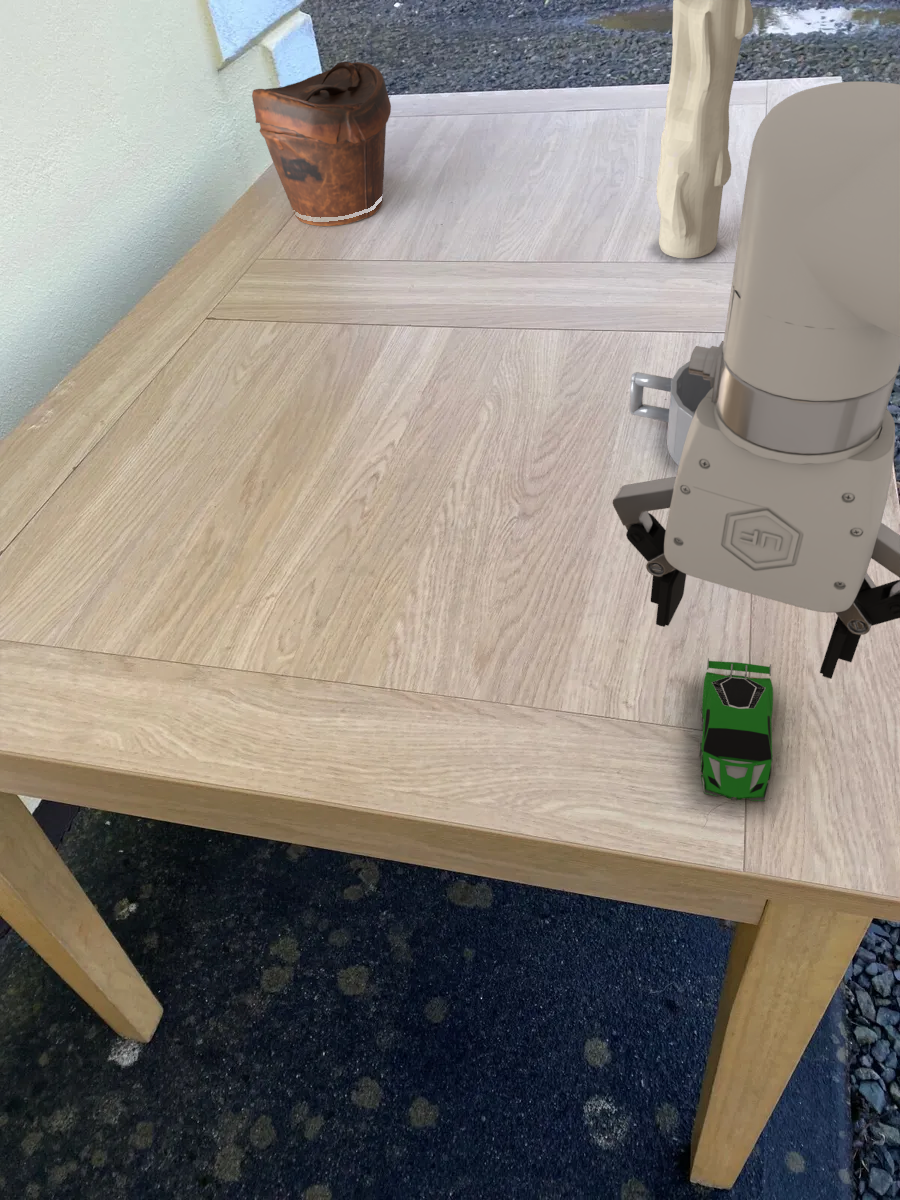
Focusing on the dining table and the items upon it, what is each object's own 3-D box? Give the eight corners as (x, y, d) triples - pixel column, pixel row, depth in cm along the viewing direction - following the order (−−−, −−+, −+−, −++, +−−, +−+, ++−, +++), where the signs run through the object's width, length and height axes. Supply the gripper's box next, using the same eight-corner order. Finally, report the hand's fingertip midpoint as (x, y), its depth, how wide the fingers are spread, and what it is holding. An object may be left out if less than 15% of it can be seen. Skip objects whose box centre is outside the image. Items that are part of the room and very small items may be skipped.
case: (412, 176, 137) (394, 41, 124) (392, 234, 123) (369, 89, 110) (298, 184, 139) (269, 52, 127) (265, 242, 126) (229, 101, 113)
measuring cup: (829, 418, 85) (842, 361, 80) (793, 502, 77) (805, 444, 73) (652, 385, 92) (655, 331, 87) (603, 459, 84) (605, 404, 80)
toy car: (772, 806, 58) (778, 787, 56) (695, 796, 59) (698, 777, 57) (770, 684, 64) (775, 663, 63) (701, 677, 65) (704, 656, 64)
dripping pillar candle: (736, 251, 109) (773, -49, 88) (677, 272, 107) (700, -30, 86) (693, 227, 115) (718, -60, 94) (636, 246, 113) (648, -43, 92)
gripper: (595, 395, 43) (588, 633, 56) (997, 482, 37) (888, 731, 49) (649, 319, 48) (632, 555, 60) (1019, 384, 41) (913, 635, 53)
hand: (747, 634), depth 54 cm, fingers open, 9 cm apart
